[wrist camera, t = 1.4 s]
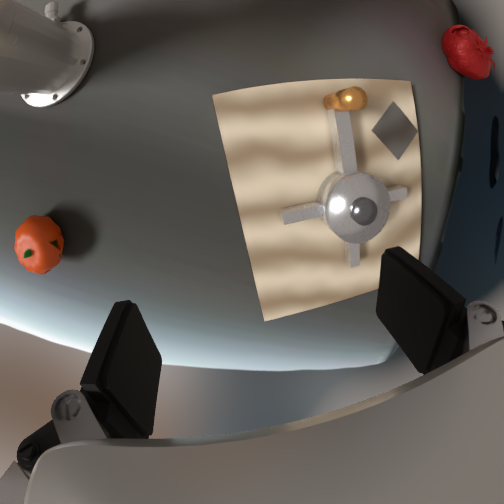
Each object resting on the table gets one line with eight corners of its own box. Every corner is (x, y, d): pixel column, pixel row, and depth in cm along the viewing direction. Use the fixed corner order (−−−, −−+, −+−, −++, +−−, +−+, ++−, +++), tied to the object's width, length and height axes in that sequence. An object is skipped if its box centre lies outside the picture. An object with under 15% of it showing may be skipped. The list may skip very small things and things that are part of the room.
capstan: (400, 246, 35) (424, 265, 30) (290, 277, 35) (303, 303, 30) (389, 92, 26) (419, 88, 21) (257, 101, 26) (267, 93, 20)
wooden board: (212, 97, 27) (212, 95, 25) (401, 82, 28) (411, 81, 26) (262, 312, 40) (264, 322, 38) (410, 269, 41) (417, 275, 39)
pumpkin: (29, 248, 31) (3, 270, 24) (36, 200, 28) (5, 217, 22) (65, 268, 33) (42, 295, 26) (75, 221, 31) (48, 242, 24)
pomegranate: (474, 82, 28) (512, 84, 19) (443, 76, 27) (486, 76, 19) (462, 33, 23) (498, 30, 15) (428, 22, 23) (468, 13, 15)
